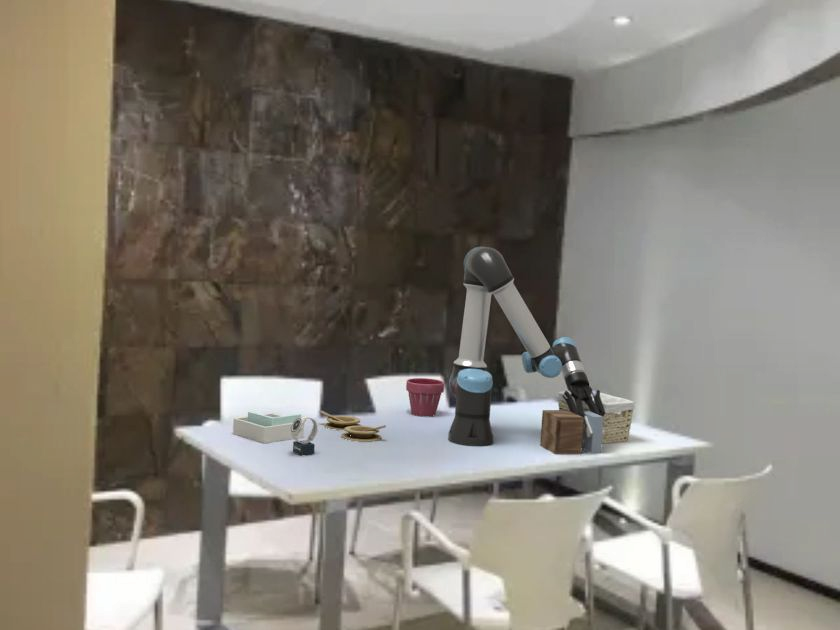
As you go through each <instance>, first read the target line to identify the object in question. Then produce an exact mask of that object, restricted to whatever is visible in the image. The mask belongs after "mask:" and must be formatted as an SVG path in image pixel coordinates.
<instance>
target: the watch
mask: <svg viewBox="0 0 840 630" xmlns="http://www.w3.org/2000/svg"><path fill="white" fill-rule="evenodd" d="M307 420H310V421H312V424H313V426H312V429H311V431H310V433H309V435H308V437H307V439H305V440H299V438H297V437H296V436H298V433H300V431H301V430H302V429H303V427H304V428H305V422H306V421H307ZM318 431H319V425H318V423H317V421H316V420H315V418H312V417H309V416H308V415H307V416H306V415H305V416H304V415H302V416H301V417H300V418H297V419H296V420H295V421H294V422H293V424H292V426H291V434H292V437H293V439H292V440H294V441H293V443H292V452H293V453H294V454H297V455H298V456H300V455H301V457H303V456H302V455H305V456H313V455H312V454H314V455H315V443H312V441H314V439H315V438H316V436H317V433H318Z"/></svg>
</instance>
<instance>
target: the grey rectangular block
mask: <svg viewBox="0 0 840 630" xmlns="http://www.w3.org/2000/svg"><path fill="white" fill-rule="evenodd" d="M585 416H587V418H588V421H589V424H590V426H591V429H592V432H593V433H592V435H591V436H590V437H587V434H586V431H585V432H583V433H582V439H584V447H581V450H582V449H583V450H584V451H586V452H588V453H591V454H601V453H602V446H603V445H602V431H603V417H602V416H600V415H598V414H595V413H593V412H591V411H584V417H585Z"/></svg>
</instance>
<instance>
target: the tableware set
mask: <svg viewBox="0 0 840 630" xmlns="http://www.w3.org/2000/svg"><path fill="white" fill-rule="evenodd" d="M318 413H320V414H321V415H324V416H325V417H327V418H326V421H327V422H326V423H324V425H323V426H325V427H324V428H326V427H327V428H326V429H328V428H330V429H329V430H332V429H336V430H335V431H339V430H345V431H344V433H341V435H340V437H341V438H342V439H343V438H344V439H343V440H345V439H347V440H346V441H349V440H351V441H350V442H355V441H358V443H374V442H373V441H375V442H380V441H381V440H382V439H383V438H382V436H381V434H379V432H380V429H385V428H386V424H385V425H381V426H378V427H375V426H370V425H369V426H367V425H361V424H360V423H361V418H358V417H355V416H351V415H349V416H348V415H331V414H329V413H328V412H325V411H323V410H319V412H318ZM350 435H351V437H350Z"/></svg>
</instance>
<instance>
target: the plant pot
mask: <svg viewBox="0 0 840 630" xmlns="http://www.w3.org/2000/svg"><path fill="white" fill-rule="evenodd" d="M405 390H406V392H408V393H407V394H408V398H409V399H408V400H409V406H410V412H411V414H412V416H416V415H417V416H416V417H423V416H429V417H434V416H436V414H437V410H438V407H439V404H440V400H441V396H442V393H444V391H445V382H444V381H442V380H440V379H435V378H425V377H424V378H422V377H417V378H416V377H413V378H408V379H407V380H406V385H405ZM433 415H434V416H433Z"/></svg>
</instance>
